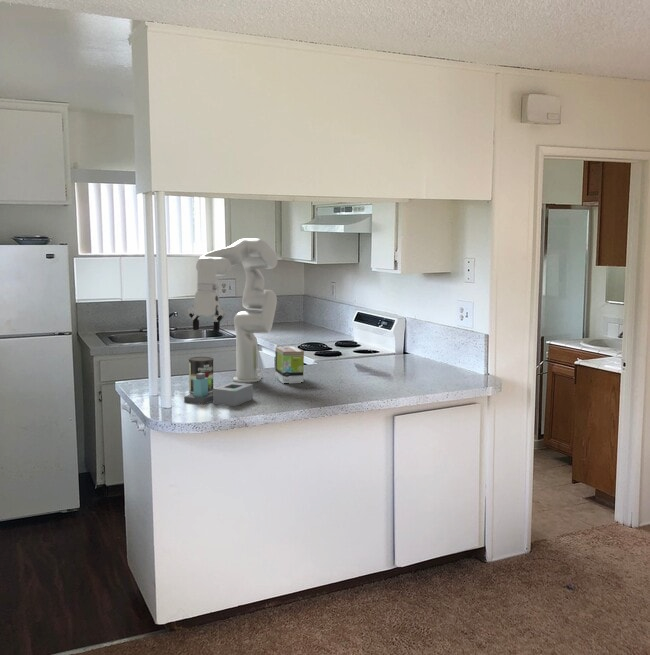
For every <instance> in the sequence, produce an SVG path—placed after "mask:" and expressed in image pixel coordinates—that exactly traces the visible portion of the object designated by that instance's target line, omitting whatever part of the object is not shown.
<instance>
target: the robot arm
mask: <svg viewBox="0 0 650 655" xmlns="http://www.w3.org/2000/svg"><path fill="white" fill-rule="evenodd" d="M239 264H241V265H242V267H243V270H244V274H245V284H244V289H243V294H242V299H241V305H242V307H243V308H244V309H247V310H242V311H239V312H237V313H235V316H234V317H233V324H234V325H233V326H234V331H235V340H236V341H235V343H236V346H235V348H236V349H235V350H236V352H235V355H236V358H235V359H236V360H235V361H236V370H235V371H236V374H235V375H236V376H234V377H233V378H232V380H233V381H232V382H237V383H246V384H252V383H257V381H258V382H260V381H261V380H262V379H261V376H259V375H258V374H260V373H261V372H262V370H261V368H258V340H257V337H256V335H255V334H269V333H270V332H271V330H272V328H273V325H274V324H273V323H274V319H275V314H276V309H277V305H278V304H277V302H278V301H277V300H278V298H277V294H276V292H275V291H274V290H272V289H264V288H265V283H266V282H265V281H266V280H265V278H264V276H263V274H262V272H261V270H262V269H263V270H272V269H274V268H276V266H277V265H278V255H277V253H276V251H275V250H274V249H273V248H272V246H271V245H269V243H268V242H266V241H265V240H264V239H261V238H240V239H238V240H237V241H235V242H233V243H231V245H229V246H226V247H222V248H218V249H215V250H212V251H209V252H206V253H204V254H203V255H201V256H200V257H198V259H197V261H196V265H195V266H196V267H195V268H196V271H197V279H196V280H197V285H196V288H197V289H196V290H197V291H195V295H194V299H193V300H194V301H193V306H190V307H189V308H187V313H188V314H189V317H190V319H191V320H192V328H193V331H198V330H200V320H199V318H200V317H207V318H213V320H214V322H213V332H214V333H216V332H220V329H221V328H220V325H221V322H222V320H223V319H224V316H225V315H226V310H224V309H223V308H222V307H221V301H220V295H219V292H218V291H217V290H219V288H220V287H219V286H218V285H217V277H223V276H224V277H225V276H226V275H229V274H230V272H231V271H232V267H234V266H237V265H239ZM260 269H261V270H260ZM251 310H252V311H251ZM253 310H255V311H253ZM251 382H252V383H251Z"/></svg>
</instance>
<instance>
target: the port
mask: <svg viewBox="0 0 650 655" xmlns="http://www.w3.org/2000/svg"><path fill="white" fill-rule="evenodd" d="M212 393H213V401H212V404H213V405H214V404H215V405H221V406H228V407H229V406H230V407H237V406H239V405H242V404H244V403H246V402H249V401H251V400H253V399H254V385H253V383H241V382H235V381H230V382H227V383H225V384H222V385H219V386H216V387H213V392H212ZM248 400H249V401H248Z"/></svg>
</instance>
